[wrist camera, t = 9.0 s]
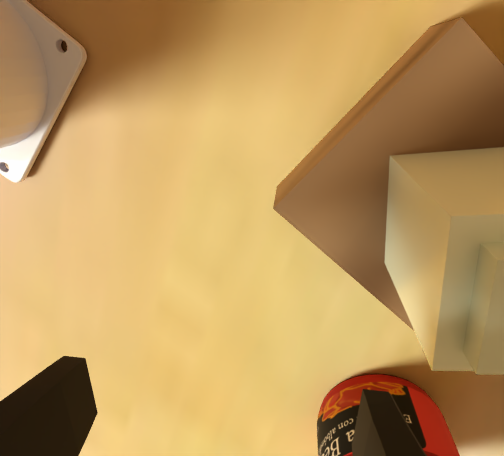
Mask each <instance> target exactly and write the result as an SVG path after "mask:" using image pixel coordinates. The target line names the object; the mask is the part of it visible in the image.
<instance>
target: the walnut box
mask: <svg viewBox="0 0 504 456" xmlns="http://www.w3.org/2000/svg"><path fill="white" fill-rule="evenodd" d="M498 147H504V65H503V64H502V63H501V62H500V61H499V59H498V58H497V57H496V56H495V55H494V54H493V52H492V51H491V50H490V49H489V48H488V47H487V46H486V44H485V43H484V42H483V41H482V40H481V39H480V37H479V36H478V35H477V34H476V33H475V32H474V31H473V29H472V28H471V27H470V26H469V25H468V24H467V23H466V21H465V20H464V19H463V18H462V17H461V18H458V19H455V20H451V21H448V22H445V23H441V24H438V25H435V26H431V27H430V28H429V29H428V30H427V31H426V32H425V33H424V34H423V35H422V36H421V37H420V38H419V39H418V40H417V41H416V42H415V43H414V44H413V45H412V46H411V48H410V49H409V50H408V51H407V52H406V53H405V54H404V55H403V56H402V57H401V58H400V59H399V60H398V61H397V62H396V63H395V64H394V65H393V66H392V67H391V68H390V69H389V70H388V71H387V73H386V74H385V75H384V76H383V77H382V78H381V79H380V80H379V81H378V82H377V83H376V84H375V85H374V86H373V87H372V88H371V89H370V90H369V91H368V92H367V93H366V94H365V95H364V96H363V98H362V99H361V100H360V101H359V102H358V103H357V104H356V105H355V106H354V107H353V108H352V109H351V110H350V111H349V112H348V113H347V114H346V115H345V116H344V117H343V118H342V119H341V120H340V121H339V123H338V124H337V125H336V126H335V127H334V128H333V129H332V130H331V131H330V132H329V133H328V134H327V135H326V136H325V137H324V138H323V139H322V140H321V141H320V142H319V143H318V144H317V145H316V147H315V148H314V149H313V150H312V151H311V152H310V153H309V154H308V155H307V156H306V157H305V158H304V159H303V160H302V161H301V162H300V163H299V164H298V165H297V166H296V167H295V168H294V169H293V170H292V172H291V173H290V174H289V175H288V176H287V177H286V178H285V179H284V180H283V181H282V182H281V183H280V184H279V185H278V186H277V190H276V196H275V202H274V207H273V209H274V210H275V211H277V212H278V213H279V214H280V215H281V216H282V217H283V218H285V219H286V220H287V221H288V222H289V223H290V224H292V225H293V226H294V227H295V228H296V229H297V230H298V231H300V232H301V233H302V234H303V235H304V236H305V237H307V238H308V239H309V240H310V241H311V242H312V243H313V244H315V245H316V246H317V247H318V248H319V249H320V250H322V251H323V252H324V253H325V254H326V255H327V256H328V257H330V258H331V259H332V260H333V261H334V262H335V263H337V264H338V265H339V266H340V267H341V268H342V269H343V270H345V271H346V272H347V273H348V274H349V275H350V276H352V277H353V278H354V279H355V280H356V281H357V282H359V283H360V284H361V285H362V286H363V287H364V288H365V289H367V290H368V291H369V292H370V293H371V294H372V295H374V296H375V297H376V298H377V299H378V300H379V301H380V302H382V303H383V304H384V305H385V306H386V307H387V308H389V309H390V310H391V311H392V312H393V313H394V314H395V315H397V316H398V317H399V318H400V319H401V320H402V321H404V322H405V323H406V324H407V325H408V326H409V327H410V328H412V329H413V327H412V324H411V322H410V320H409V317H408V315H407V313H406V311H405V308H404V306H403V304H402V301H401V299H400V297H399V295H398V292H397V290H396V288H395V286H394V283H393V281H392V279H391V276H390V274H389V272H388V270H387V267H386V265H385V242H386V221H387V201H388V180H389V160H390V156H391V155H404V154H417V153H431V152H444V151H458V150H471V149H485V148H498ZM413 330H414V329H413Z"/></svg>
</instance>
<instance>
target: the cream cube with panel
mask: <svg viewBox="0 0 504 456" xmlns="http://www.w3.org/2000/svg"><path fill="white" fill-rule="evenodd" d="M385 265H386V267H387V270H388V272H389V274H390V276H391V279H392V281H393V283H394V286H395V288H396V290H397V292H398V295H399V297H400V299H401V301H402V304H403V306H404V308H405V311H406V313H407V315H408V317H409V320H410V322H411V324H412V327H413V329H414V331H415V333H416V336H417V338H418V340H419V343H420V345H421V347H422V349H423V352H424V354H425V356H426V358H427V361H428V363H429V365H430V368H431V370H432V371H474V372H475V374H476V375H504V147H498V148H485V149H471V150H458V151H444V152H431V153H417V154H404V155H391V156H390V160H389V180H388V201H387V221H386V242H385Z"/></svg>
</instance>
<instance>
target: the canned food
mask: <svg viewBox="0 0 504 456" xmlns="http://www.w3.org/2000/svg"><path fill="white" fill-rule="evenodd" d="M363 389H368V390H377V391H386V392H389V393H390V394H391V395H392V397H393V398H394V400H395V402H396V404H397V406H398V408H399V409H400V411H401V413H402V415H403V416H404V418H405V420H406V422H407V423H408V425H409V427H410V429H411V430H412V432H413V434H414V435H415V437H416V439H417V440H418V442H419V444H420V445H421V447H422V449H423V450H424V452H425V454H426V455H427V456H460V455H459V453H458V450H457V448H456V445H455V443H454V441H453V438H452V436H451V433H450V431H449V429H448V426H447V424H446V422H445V419H444V417H443V415H442V413H441V411H440V409H439V408H438V406H437V405H436V404H435V403H434V402H433V400H432V399H431V398H430V397H429V396H428V395H427V394H426V392H425V391H424V390H422V389H421V388H420V387H418V386H417V385H415V384H413V383H411V382H409V381H407V380H405V379H402V378H398V377H395V376H390V375H382V374H373V375H363V376H357V377H354V378H351V379H348V380H346V381H344V382H342V383H340V384H338V385H337V386H336V387H334V388H333V389H332V390H331V391H330V392H329V393H328V394H327V396H326V397H325V398H324V400H323V403H322V405H321V408H320V411H319V415H318V420H317V438H318V456H353V455H352V441H353V436H354V431H355V426H356V420H357V415H358V410H359V405H360V400H361V395H362V390H363Z"/></svg>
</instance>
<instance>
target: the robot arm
mask: <svg viewBox="0 0 504 456" xmlns="http://www.w3.org/2000/svg"><path fill="white" fill-rule="evenodd" d="M63 40H64V41H65V42H66V44H67V51H66V52H64V51H63V50H62V47H61V43H62V41H63ZM86 59H87V55H86V51H85V49H84V47H83V46H82V45H81V44H80V43H79V42H77V41H76V40H75V39H74V38H72V37H71V36H70V35H69V34H67V33H66V32H65V31H64V30H62V29H61V28H60V27H59V26H58V25H56V24H55V23H54V22H53V21H51V20H50V19H49V18H48V17H46V16H45V15H44V14H43V13H41V12H40V11H39V10H38V9H36V8H35V7H34V6H33V5H32V4H30V3H29V2H28V1H27V0H0V174H2V175H3V176H4V177H6V178H7V179H9V180H10V181H12V182H16V183H18V182H21V181H23V180H25V179H26V177H27V175H28V174H29V172H30V170H31V168H32V166H33V164H34V162H35V160H36V158H37V156H38V154H39V152H40V150H41V148H42V146H43V144H44V142H45V140H46V138H47V136H48V135H49V133H50V131H51V129H52V127H53V125H54V123H55V121H56V119H57V117H58V115H59V113H60V111H61V109H62V107H63V105H64V103H65V101H66V99H67V97H68V96H69V94H70V92H71V90H72V88H73V86H74V84H75V82H76V80H77V78H78V76H79V74H80V72H81V70H82V68H83V66H84V64H85V62H86ZM5 163H6V164H7V165H8V166H9V169H7V168H6V166H5ZM96 415H97V409H96V404H95V400H94V395H93V391H92V386H91V382H90V377H89V373H88V368H87V364H86V359H85V358H78V357H69V356H63V357H62V358H60V359H59V360H57V361H56V362H54V363H53V364H52V365H50V366H49V367H47V368H46V369H45V370H43V371H42V372H40V373H39V374H38V375H36V376H35V377H33V378H32V379H31V380H29V381H28V382H27V383H25V384H24V385H22V386H21V387H20V388H18V389H17V390H16V391H14V392H13V393H11V394H10V395H9V396H7V397H6V398H4V399H3V400H2V401H0V456H78V455H79V453H80V451H81V449H82V447H83V445H84V442H85V440H86V438H87V436H88V434H89V431H90V429H91V427H92V424H93V422H94V420H95V417H96ZM352 455H353V456H427V455H426V454H425V452H424V450H423V449H422V447H421V445H420V444H419V442H418V440H417V439H416V437H415V435H414V434H413V432H412V430H411V429H410V427H409V425H408V423H407V422H406V420H405V418H404V416H403V415H402V413H401V411H400V409H399V408H398V406H397V404H396V402H395V400H394V398H393V397H392V395H391V394H390V393H389V392H386V391H377V390H368V389H363V390H362V395H361V400H360V405H359V410H358V415H357V420H356V426H355V431H354V436H353V441H352Z"/></svg>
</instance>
